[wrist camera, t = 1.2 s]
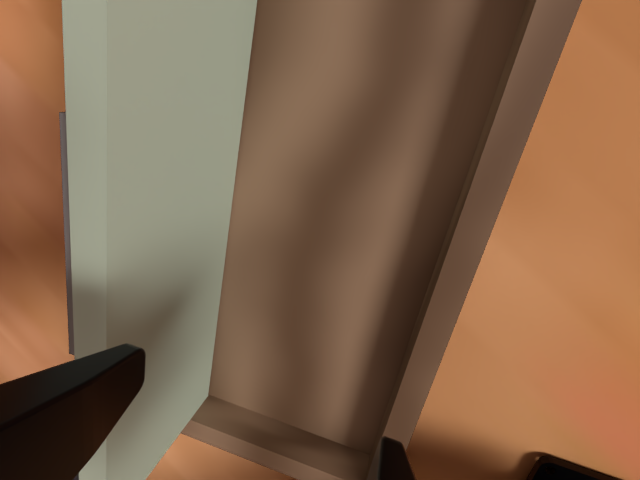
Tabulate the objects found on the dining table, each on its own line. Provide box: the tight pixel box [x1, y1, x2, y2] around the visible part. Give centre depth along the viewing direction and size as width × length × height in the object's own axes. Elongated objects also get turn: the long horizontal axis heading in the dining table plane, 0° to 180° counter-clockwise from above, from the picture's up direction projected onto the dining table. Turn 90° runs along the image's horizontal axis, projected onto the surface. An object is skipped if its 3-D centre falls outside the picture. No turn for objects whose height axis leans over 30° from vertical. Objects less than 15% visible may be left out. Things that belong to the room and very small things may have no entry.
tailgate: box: [59, 0, 257, 480], centre depth 15 cm, size 2×24×8 cm, turn 168°
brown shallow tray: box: [181, 0, 582, 480], centre depth 18 cm, size 12×26×3 cm, turn 168°
